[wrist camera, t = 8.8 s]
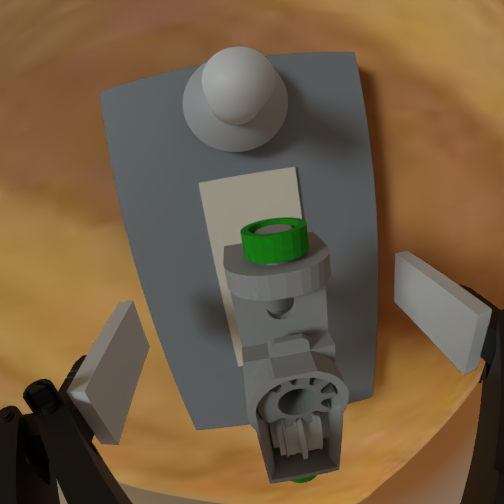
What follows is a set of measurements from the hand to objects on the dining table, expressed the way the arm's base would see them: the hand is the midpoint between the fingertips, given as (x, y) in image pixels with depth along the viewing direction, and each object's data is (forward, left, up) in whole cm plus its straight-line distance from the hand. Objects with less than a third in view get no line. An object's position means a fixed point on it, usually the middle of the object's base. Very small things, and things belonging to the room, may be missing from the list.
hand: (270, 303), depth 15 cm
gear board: (0, 0, -5) cm, 5 cm away
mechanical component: (0, 0, -3) cm, 3 cm away
